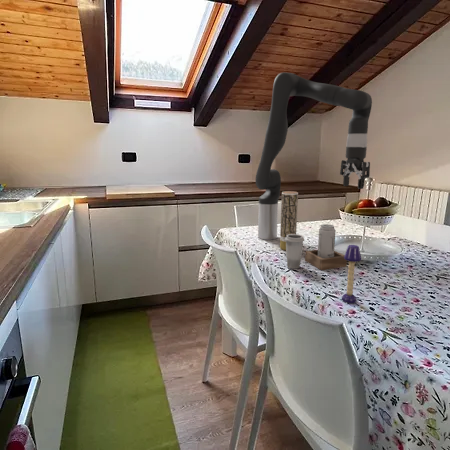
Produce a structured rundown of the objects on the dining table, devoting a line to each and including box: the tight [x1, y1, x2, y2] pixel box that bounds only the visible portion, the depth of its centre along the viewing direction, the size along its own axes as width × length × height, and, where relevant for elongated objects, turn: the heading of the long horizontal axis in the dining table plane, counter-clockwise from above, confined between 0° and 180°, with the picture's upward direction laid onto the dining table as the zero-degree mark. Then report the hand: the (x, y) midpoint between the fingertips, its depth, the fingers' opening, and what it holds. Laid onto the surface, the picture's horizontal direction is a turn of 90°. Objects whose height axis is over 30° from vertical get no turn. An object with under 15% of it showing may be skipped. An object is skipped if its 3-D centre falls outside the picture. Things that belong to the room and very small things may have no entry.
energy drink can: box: [317, 223, 337, 258], centre depth 131 cm, size 6×6×15 cm
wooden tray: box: [304, 249, 347, 271], centre depth 132 cm, size 11×11×4 cm
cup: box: [285, 233, 305, 270], centre depth 128 cm, size 7×7×12 cm
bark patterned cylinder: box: [279, 190, 299, 251], centre depth 148 cm, size 7×7×25 cm
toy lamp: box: [341, 244, 362, 304], centre depth 100 cm, size 5×5×17 cm
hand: (353, 187), depth 137 cm, fingers open, 8 cm apart
